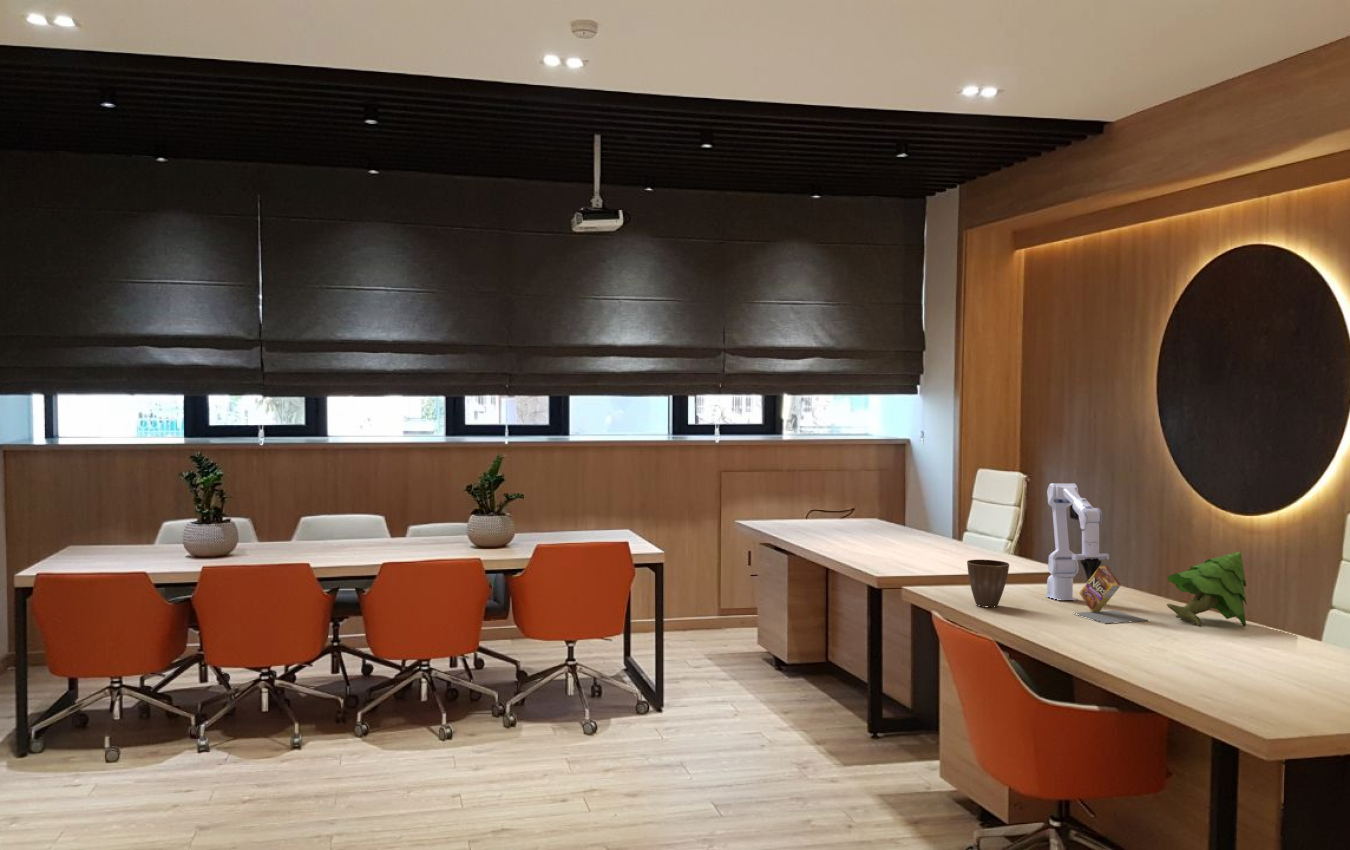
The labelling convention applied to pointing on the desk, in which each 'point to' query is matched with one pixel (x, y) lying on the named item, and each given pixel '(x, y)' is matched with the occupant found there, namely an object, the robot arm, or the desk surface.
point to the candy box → (1099, 588)
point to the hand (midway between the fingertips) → (1090, 580)
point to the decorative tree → (1213, 588)
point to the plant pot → (987, 580)
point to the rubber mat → (1110, 616)
